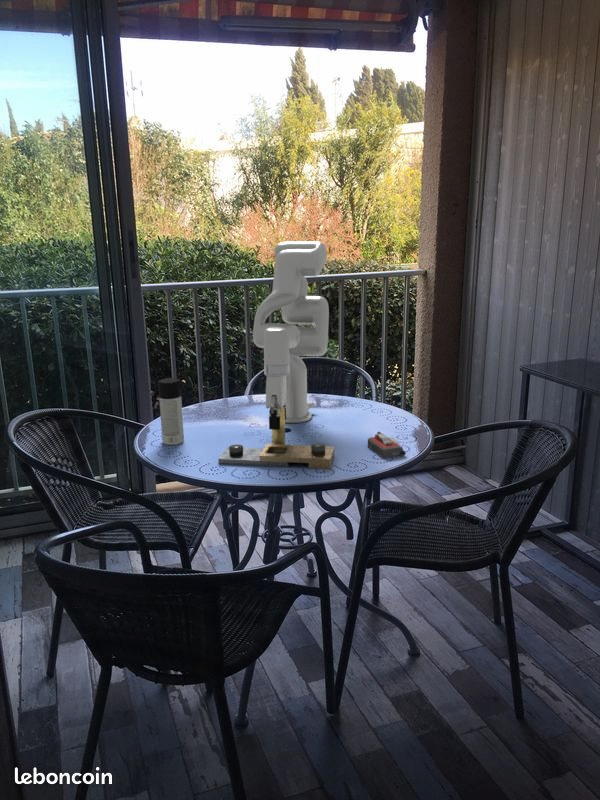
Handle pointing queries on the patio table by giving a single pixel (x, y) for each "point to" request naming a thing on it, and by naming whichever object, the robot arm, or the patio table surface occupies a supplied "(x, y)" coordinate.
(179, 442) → the spray can
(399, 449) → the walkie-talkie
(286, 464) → the peg insertion board
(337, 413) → the patio table surface
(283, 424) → the pin
